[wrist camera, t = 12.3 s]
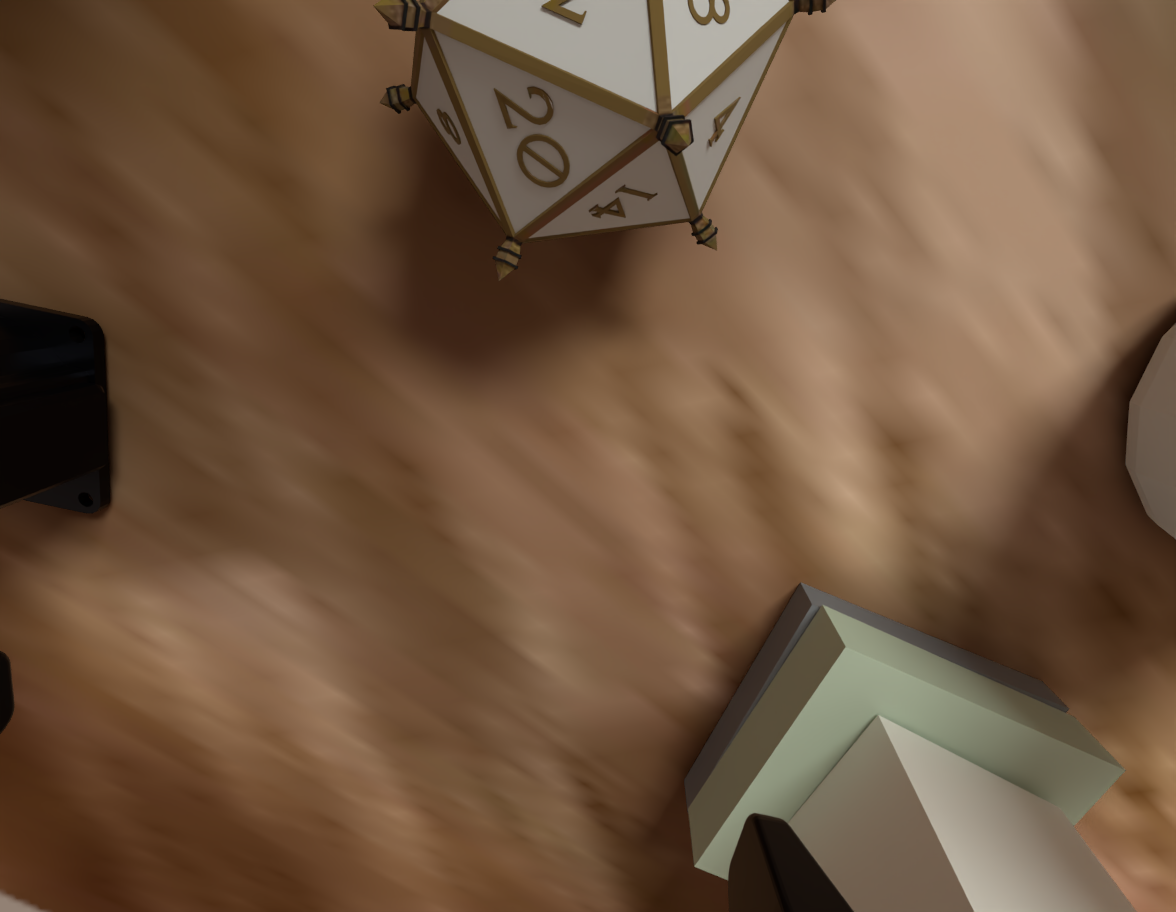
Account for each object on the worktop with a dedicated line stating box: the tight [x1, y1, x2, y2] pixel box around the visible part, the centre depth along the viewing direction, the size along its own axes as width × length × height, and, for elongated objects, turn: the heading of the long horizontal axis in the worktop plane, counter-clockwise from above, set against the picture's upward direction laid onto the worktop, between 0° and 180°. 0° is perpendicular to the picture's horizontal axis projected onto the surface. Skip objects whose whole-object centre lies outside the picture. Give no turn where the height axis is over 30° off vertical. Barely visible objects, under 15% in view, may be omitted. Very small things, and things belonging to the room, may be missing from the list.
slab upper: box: [688, 605, 1126, 880], centre depth 20 cm, size 9×9×2 cm
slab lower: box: [684, 583, 1069, 812], centre depth 22 cm, size 9×9×2 cm
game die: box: [374, 0, 836, 281], centre depth 13 cm, size 9×8×10 cm
